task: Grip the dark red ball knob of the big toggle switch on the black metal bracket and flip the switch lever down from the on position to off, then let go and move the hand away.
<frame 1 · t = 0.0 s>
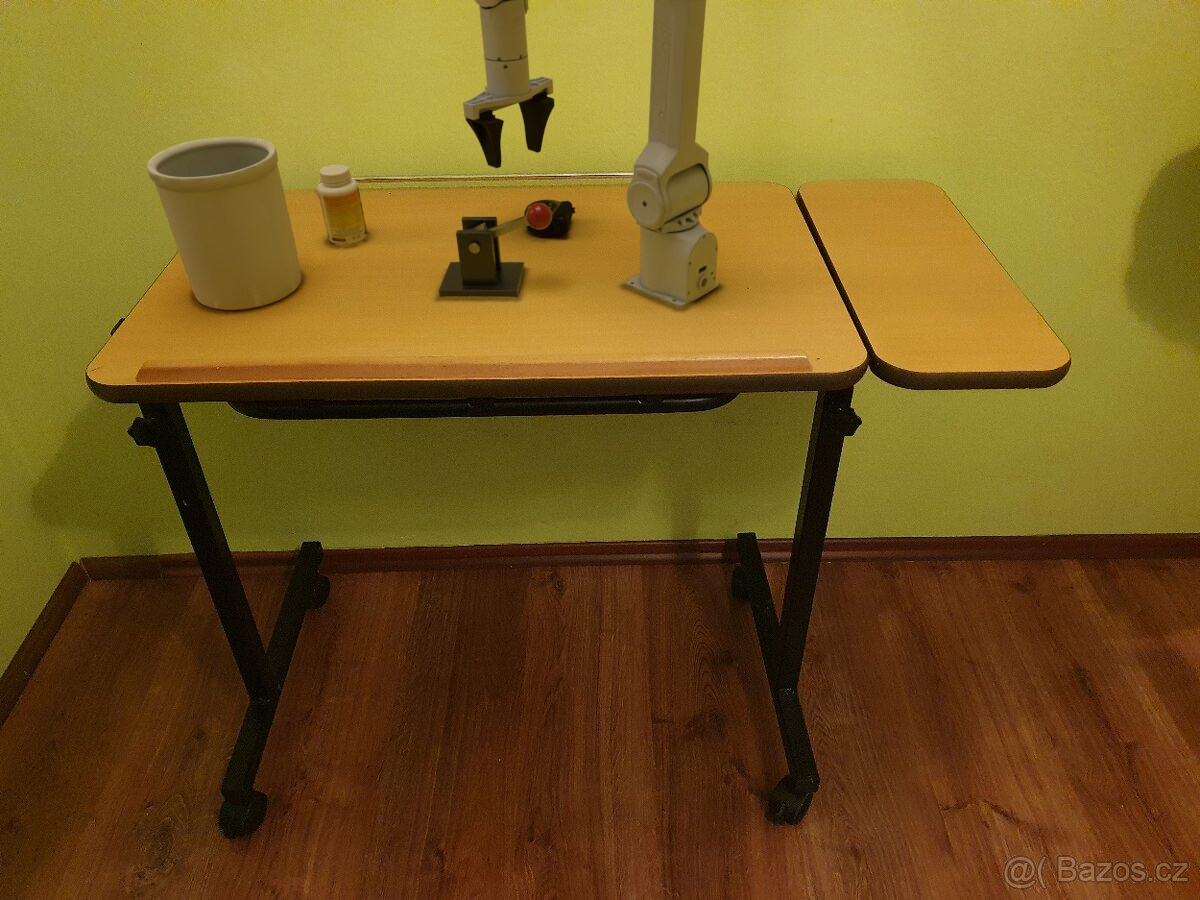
hand: (514, 158, 126), 10 cm above the table, tool pointing down, fingers open, 7 cm apart
tape measure: (554, 232, 131), on the table
switch bracket: (483, 284, 118), on the table
utensil holder: (250, 286, 120), on the table
lever: (509, 226, 113), point 8 cm above the table, hinge at 20.0°
supplement bottle: (348, 239, 130), on the table
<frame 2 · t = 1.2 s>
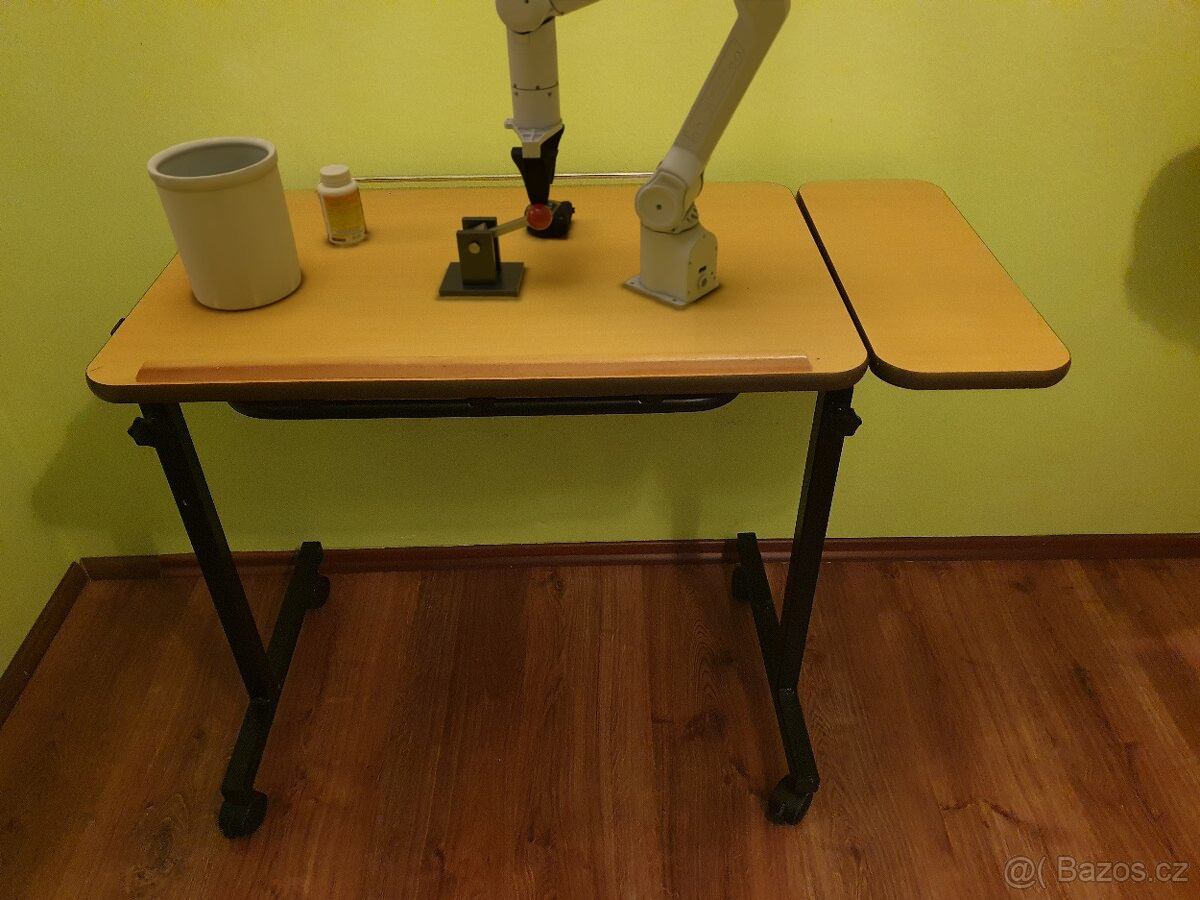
hand: (542, 193, 115), 10 cm above the table, tool pointing down, fingers open, 6 cm apart
lever: (509, 227, 113), point 8 cm above the table, hinge at 19.6°, touching gripper
everything else where it was.
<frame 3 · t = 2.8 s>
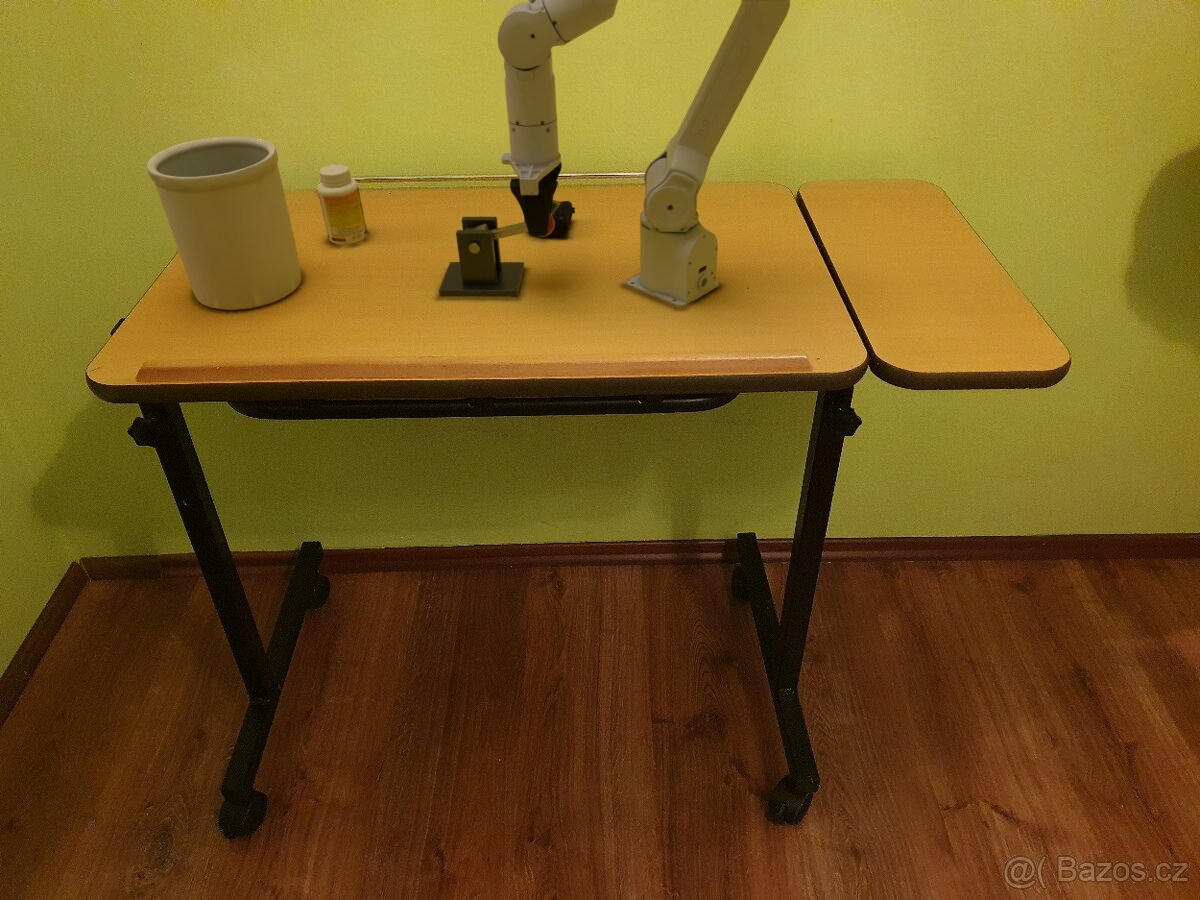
hand: (540, 228, 113), 8 cm above the table, tool pointing down, fingers closed on lever, 3 cm apart
lever: (510, 230, 113), point 7 cm above the table, hinge at 13.3°, touching gripper
everything else where it was.
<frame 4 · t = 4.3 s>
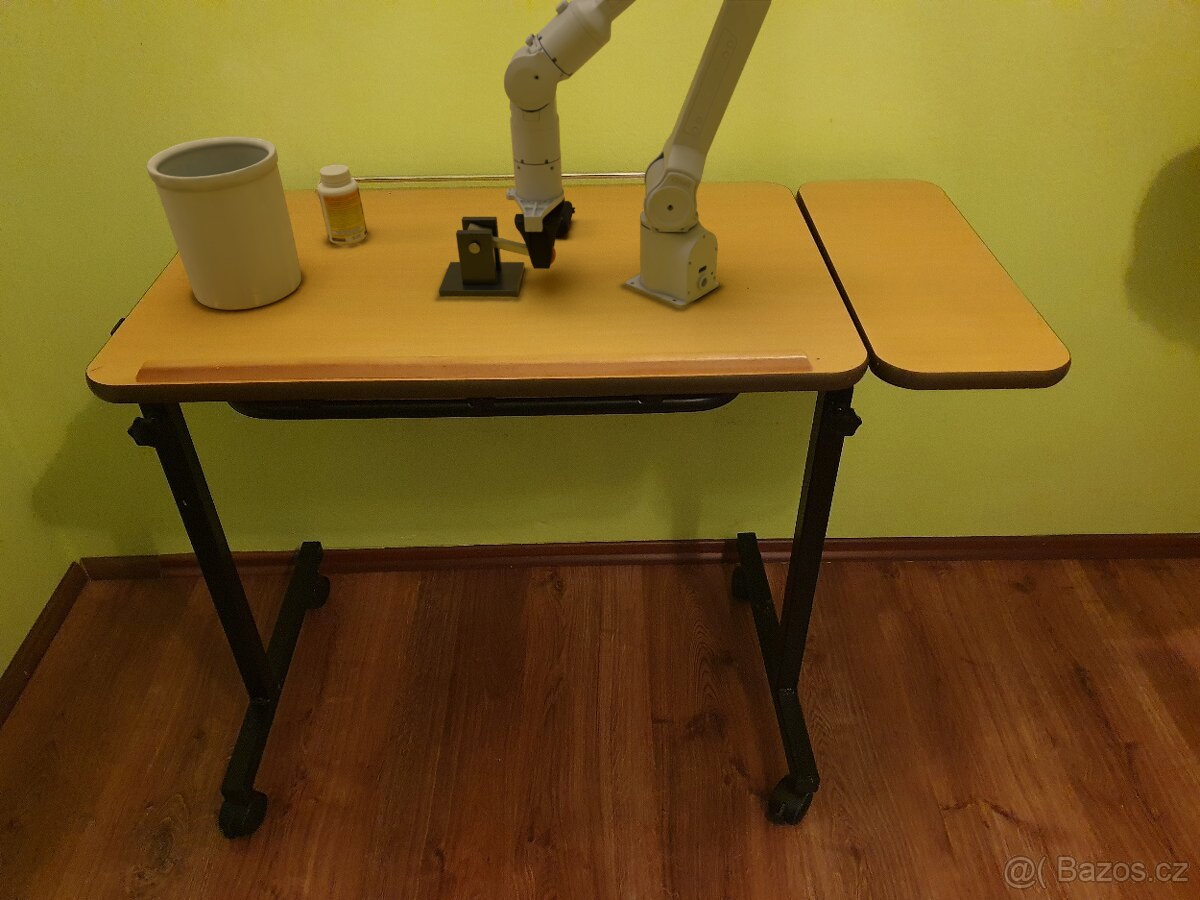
hand: (543, 260, 116), 3 cm above the table, tool pointing down, fingers closed on lever, 3 cm apart
lever: (511, 246, 115), point 5 cm above the table, hinge at -15.1°, touching gripper
everything else where it was.
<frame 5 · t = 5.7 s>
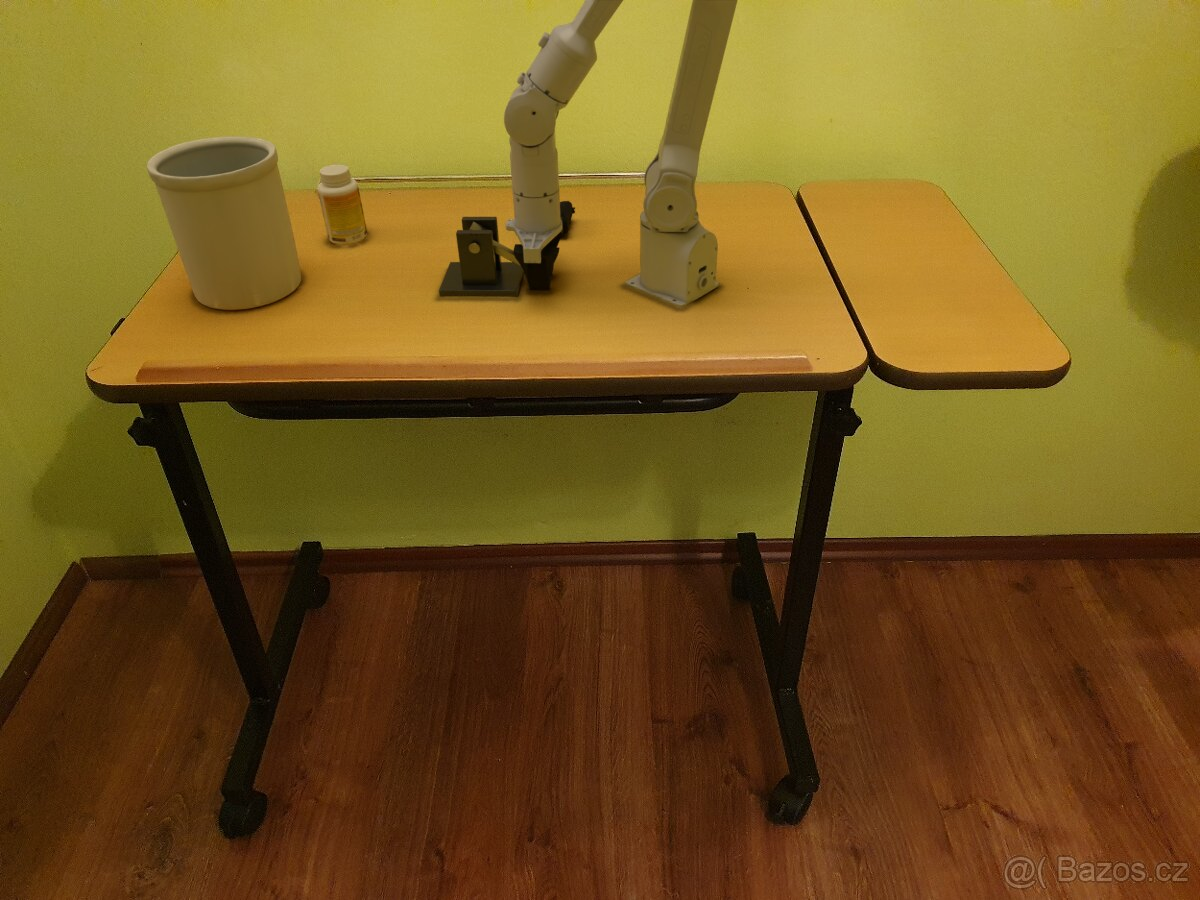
hand: (541, 288, 118), 0 cm above the table, tool pointing down, fingers closed on lever, 3 cm apart
lever: (508, 254, 115), point 4 cm above the table, hinge at -30.7°, touching gripper
everything else where it was.
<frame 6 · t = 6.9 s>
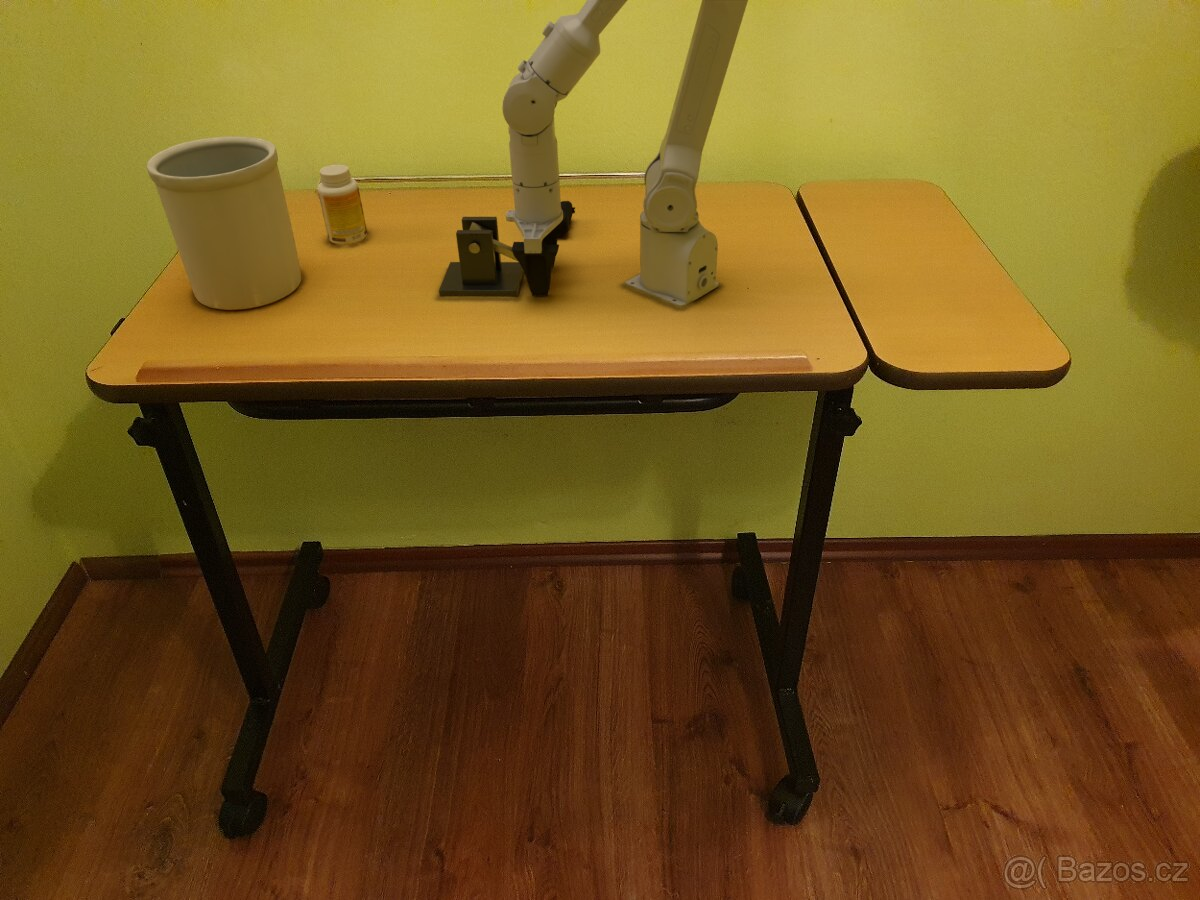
hand: (543, 280, 118), 1 cm above the table, tool pointing down, fingers open, 7 cm apart
lever: (509, 252, 115), point 5 cm above the table, hinge at -26.4°
everything else where it was.
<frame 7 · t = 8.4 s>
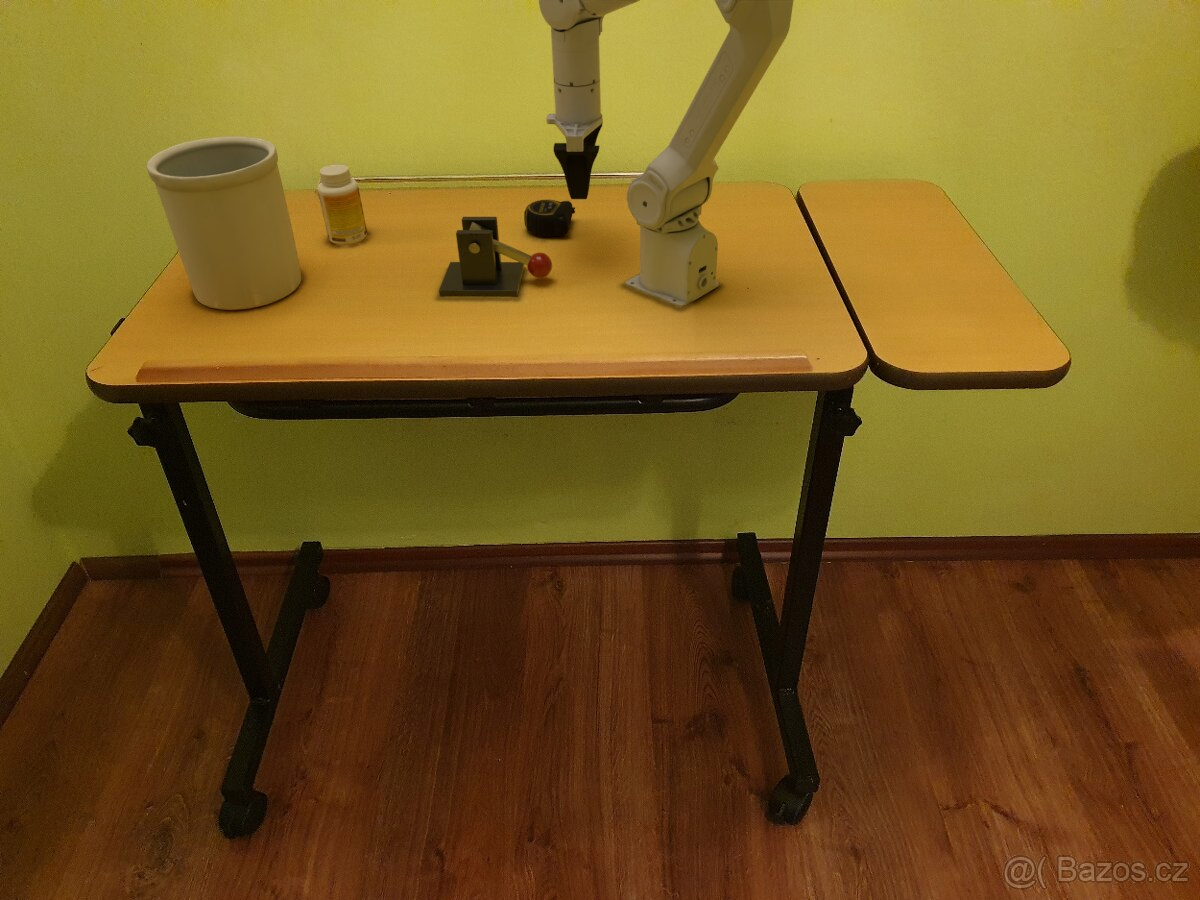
hand: (580, 186, 119), 9 cm above the table, tool pointing down, fingers open, 7 cm apart
nothing on the table moved.
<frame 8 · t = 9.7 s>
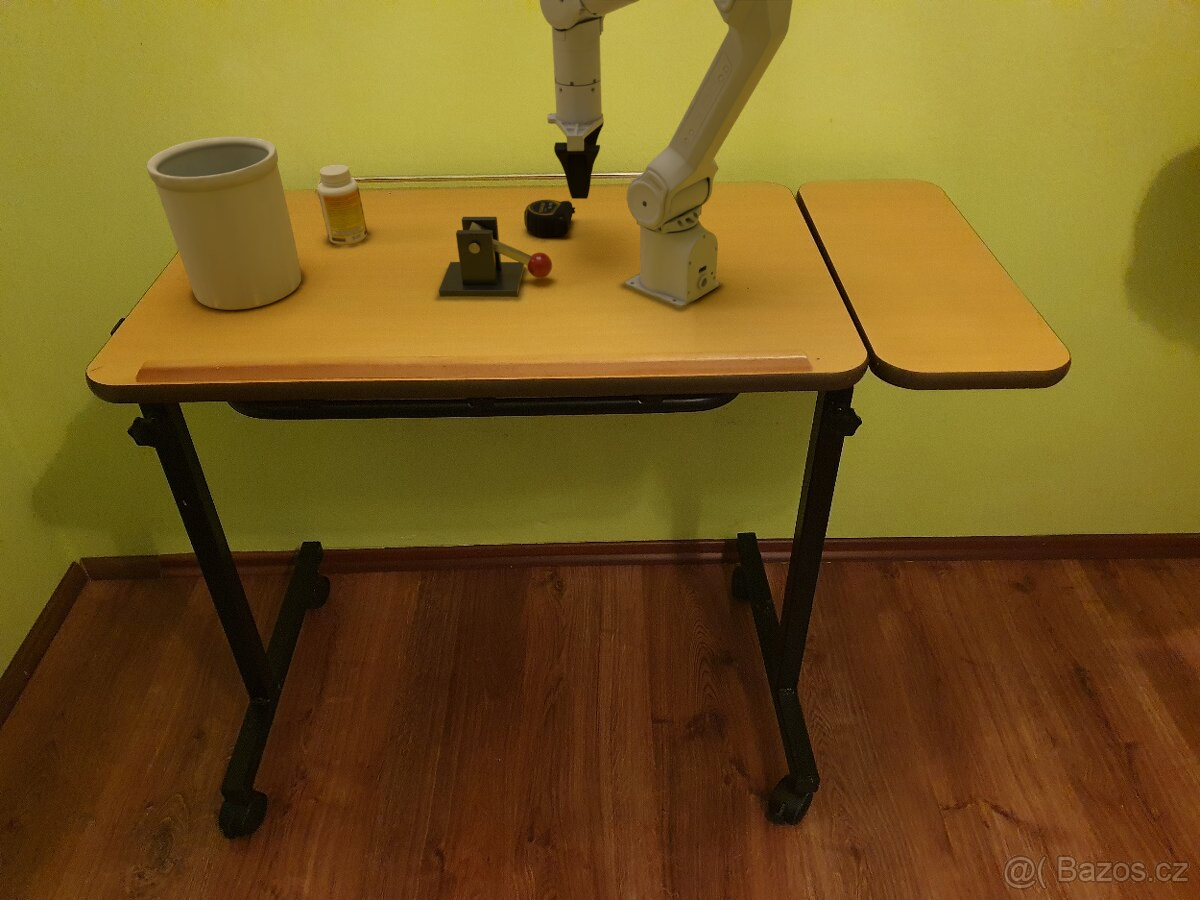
hand: (581, 186, 119), 9 cm above the table, tool pointing down, fingers open, 7 cm apart
nothing on the table moved.
at the end: lever at -26° (first picture: +20°) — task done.
